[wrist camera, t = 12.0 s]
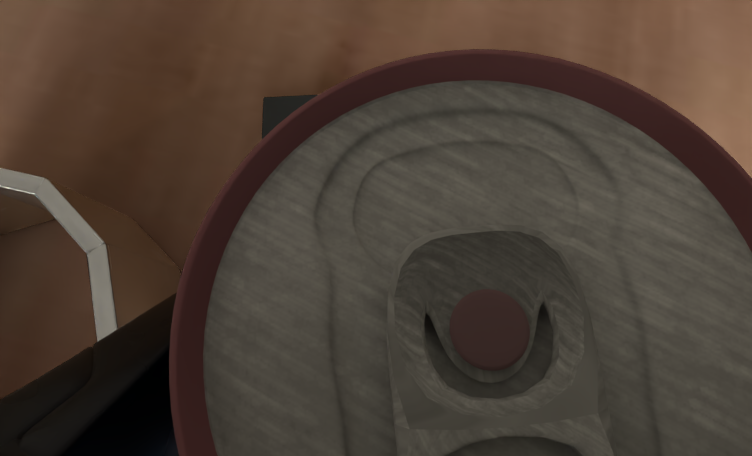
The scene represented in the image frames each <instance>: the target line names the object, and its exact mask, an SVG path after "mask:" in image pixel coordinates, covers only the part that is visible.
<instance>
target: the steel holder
mask: <svg viewBox="0 0 752 456" xmlns="http://www.w3.org/2000/svg"><path fill="white" fill-rule="evenodd" d="M54 219H56V220H57V221H58V222H59V223H60V224H61V225H62V227H63V228H64V229H65V230H66V231H67V232H68V233H69V234H70V236H71V237H72V238H73V239H74V240H75V241H76V242H77V244H78V245H79V246H80V247H81V248H82V249H83V250H84V251H85V253H86V254H87V262H88V270H89V278H90V287H91V295H92V303H93V311H94V319H95V328H96V336H97V342H98V341H99V340H101V339H103V338H104V337H106V336H107V335H109V334H111V333H112V332H114V331H115V330H117V329H119V328H120V327H122V326H123V325H125V324H127V323H128V322H130V321H131V320H133V319H135V318H136V317H138V316H139V315H141V314H143V313H144V312H146V311H147V310H149V309H151V308H152V307H154V306H155V305H157V304H159V303H160V302H162V301H163V300H165V299H167V298H168V297H170V296H171V295H173V294H175V293H176V292H177V290H178V285H179V281H180V277H181V275H180V270H179V269H178V266H177V265H176V264H175V263H174V262H173V261H172V260H171V259H170V258H169V257H168V256H167V255H166V253H165V252H164V251H163V250H162V249H161V248H160V247H159V246H158V245H157V244H156V243H155V242H154V241H153V240H152V239H151V238H150V236H149V235H148V234H147V233H146V232H145V231H144V230H143V229H142V228H141V227H140V226H139V225H138V224H137V223H136V222H135V220H134V219H132V218H130V217H128V216H126V215H124V214H122V213H120V212H118V211H116V210H114V209H111V208H109V207H107V206H105V205H103V204H101V203H99V202H97V201H94V200H92V199H90V198H88V197H86V196H84V195H82V194H80V193H77V192H75V191H73V190H71V189H69V188H67V187H65V186H63V185H61V184H58V183H56V182H54V181H52V180H50V179H48V178H46V177H41V176H37V175H32V174H28V173H23V172H19V171H15V170H10V169H6V168H1V167H0V235H2V234H6V233H9V232H13V231H16V230H19V229H23V228H26V227H30V226H33V225H37V224H40V223H43V222H47V221H50V220H54Z"/></svg>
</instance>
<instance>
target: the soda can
mask: <svg viewBox="0 0 752 456" xmlns="http://www.w3.org/2000/svg"><path fill="white" fill-rule="evenodd" d="M169 387H170V401H171V413H172V419H173V426H174V433H175V439H176V444H177V448H178V453H179V456H752V178H751V177H750V176H749V175H748V174H747V172H746V171H745V170H744V169H743V168H742V167H741V166H740V165H739V164H738V163H737V162H736V161H735V160H734V159H733V158H732V157H731V156H730V155H729V154H728V153H727V152H726V151H725V150H724V149H723V148H722V147H721V146H720V145H719V144H718V143H717V142H716V141H714V140H713V139H712V138H711V137H710V136H709V135H708V134H706V133H705V132H704V131H703V130H702V129H700V128H699V127H698V126H696V125H695V124H694V123H692V122H691V121H690V120H688V119H687V118H686V117H685V116H683V115H682V114H680V113H679V112H677V111H676V110H674V109H673V108H671V107H670V106H668V105H667V104H665V103H664V102H662V101H660V100H658V99H657V98H655V97H653V96H651V95H650V94H648V93H646V92H645V91H643V90H641V89H639V88H637V87H635V86H633V85H631V84H629V83H627V82H625V81H622V80H620V79H618V78H615V77H613V76H610V75H608V74H606V73H603V72H601V71H598V70H595V69H592V68H589V67H586V66H583V65H580V64H577V63H573V62H570V61H566V60H562V59H559V58H554V57H549V56H544V55H539V54H533V53H526V52H518V51H507V50H489V49H470V50H454V51H445V52H437V53H429V54H424V55H419V56H414V57H409V58H405V59H402V60H398V61H394V62H391V63H387V64H384V65H381V66H378V67H376V68H373V69H370V70H367V71H365V72H362V73H360V74H358V75H355V76H353V77H351V78H348V79H346V80H345V81H343V82H341V83H339V84H337V85H335V86H333V87H331V88H329V89H327V90H326V91H324V92H322V93H321V94H319V95H317V96H316V97H314V98H312V99H311V100H309V101H308V102H307V103H305V104H304V105H302V106H301V107H300V108H298V109H297V110H295V111H294V112H293V113H291V114H290V115H289V116H288V117H287V118H285V119H284V120H283V121H282V122H280V123H279V124H278V125H277V126H276V127H275V128H274V129H273V130H271V131H270V132H269V133H268V134H267V135H266V136H265V137H264V138H263V139H262V140H261V141H260V142H259V143H258V144H257V145H256V146H255V147H254V148H253V150H252V151H251V152H250V153H249V154H248V155H247V156H246V157H245V158H244V160H243V161H242V162H241V163H240V165H239V166H238V167H237V168H236V170H235V171H234V172H233V173H232V175H231V176H230V177H229V179H228V180H227V182H226V183H225V185H224V186H223V187H222V189H221V190H220V192H219V193H218V195H217V197H216V198H215V200H214V202H213V203H212V205H211V207H210V208H209V210H208V212H207V213H206V215H205V217H204V219H203V221H202V223H201V225H200V227H199V229H198V231H197V233H196V235H195V238H194V240H193V243H192V245H191V247H190V250H189V252H188V255H187V258H186V261H185V264H184V267H183V271H182V274H181V277H180V281H179V285H178V290H177V294H176V299H175V304H174V310H173V318H172V325H171V335H170V350H169Z"/></svg>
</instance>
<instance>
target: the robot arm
mask: <svg viewBox="0 0 752 456" xmlns="http://www.w3.org/2000/svg"><path fill="white" fill-rule="evenodd" d="M176 294H177V292H176V293H175V294H173V295H171V296H170V297H168V298H167V299H165V300H163V301H162V302H160V303H159V304H157V305H155V306H154V307H152V308H151V309H149V310H147V311H146V312H144V313H143V314H141V315H139V316H138V317H136V318H135V319H133V320H131V321H130V322H128V323H127V324H125V325H123V326H122V327H120V328H119V329H117V330H115V331H114V332H112V333H111V334H109V335H107V336H106V337H104V338H103V339H101V340H99V341H98V342H96V343H95V344H94V345H93V347H88V348H86V349H85V350H83V351H82V352H80V353H79V354H77V355H75V356H74V357H72V358H71V359H69V360H67V361H66V362H64V363H62V364H61V365H59V366H57V367H56V368H54V369H52V370H51V371H49V372H47V373H46V374H44V375H43V376H41V377H39V378H38V379H36V380H34V381H32V382H31V383H29V384H27V385H25V386H24V387H22V388H20V389H18V390H16V391H15V392H13V393H11V394H9V395H8V396H6V397H4V398H2V399H0V456H179V453H178V448H177V444H176V439H175V433H174V426H173V419H172V413H171V401H170V387H169V350H170V335H171V325H172V318H173V310H174V304H175V299H176Z"/></svg>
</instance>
